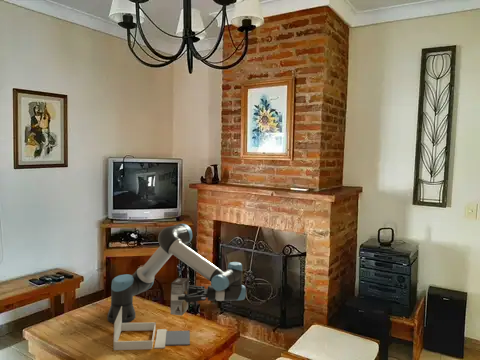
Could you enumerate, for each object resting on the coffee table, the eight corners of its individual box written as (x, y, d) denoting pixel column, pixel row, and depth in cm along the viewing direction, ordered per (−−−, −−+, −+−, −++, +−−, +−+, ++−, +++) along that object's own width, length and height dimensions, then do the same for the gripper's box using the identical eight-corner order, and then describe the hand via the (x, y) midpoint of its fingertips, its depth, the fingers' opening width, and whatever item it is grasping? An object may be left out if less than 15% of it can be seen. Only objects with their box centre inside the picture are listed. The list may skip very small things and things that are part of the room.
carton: (120, 330, 196) (121, 306, 196) (166, 329, 200) (167, 305, 199) (113, 350, 177) (114, 323, 176) (164, 348, 180) (165, 322, 179)
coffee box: (176, 307, 195) (177, 277, 194) (188, 308, 194) (189, 278, 193) (170, 314, 186) (170, 282, 185) (182, 316, 185) (183, 284, 184)
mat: (166, 332, 197) (166, 331, 197) (189, 331, 199) (189, 330, 199) (165, 345, 183) (165, 344, 183) (189, 344, 185) (189, 343, 185)
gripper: (217, 309, 181) (170, 309, 178) (213, 292, 203) (172, 292, 200) (217, 294, 180) (170, 294, 177) (214, 278, 203) (172, 278, 200)
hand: (171, 293), depth 189 cm, fingers closed on coffee box, 10 cm apart
